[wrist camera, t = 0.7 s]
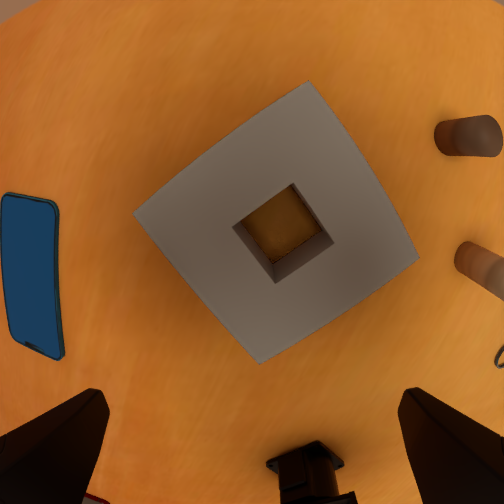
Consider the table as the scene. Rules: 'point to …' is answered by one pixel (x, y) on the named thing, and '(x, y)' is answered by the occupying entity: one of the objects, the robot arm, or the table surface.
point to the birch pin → (481, 267)
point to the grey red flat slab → (93, 500)
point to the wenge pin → (469, 137)
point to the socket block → (256, 194)
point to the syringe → (498, 358)
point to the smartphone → (31, 272)
